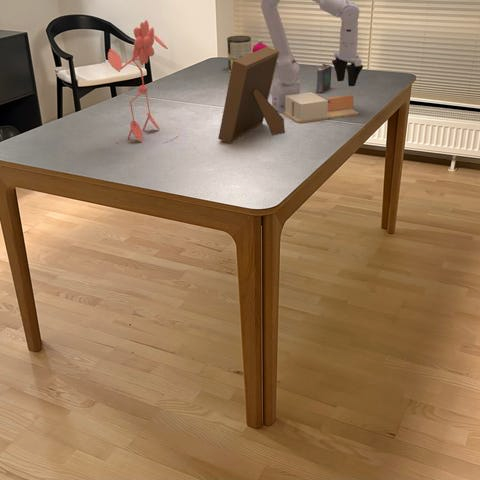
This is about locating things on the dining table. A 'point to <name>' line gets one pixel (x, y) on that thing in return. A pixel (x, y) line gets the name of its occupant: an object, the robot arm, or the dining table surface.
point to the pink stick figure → (143, 51)
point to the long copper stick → (340, 102)
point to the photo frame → (250, 96)
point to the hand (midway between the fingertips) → (346, 83)
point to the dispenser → (311, 108)
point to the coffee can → (238, 48)
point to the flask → (323, 78)
